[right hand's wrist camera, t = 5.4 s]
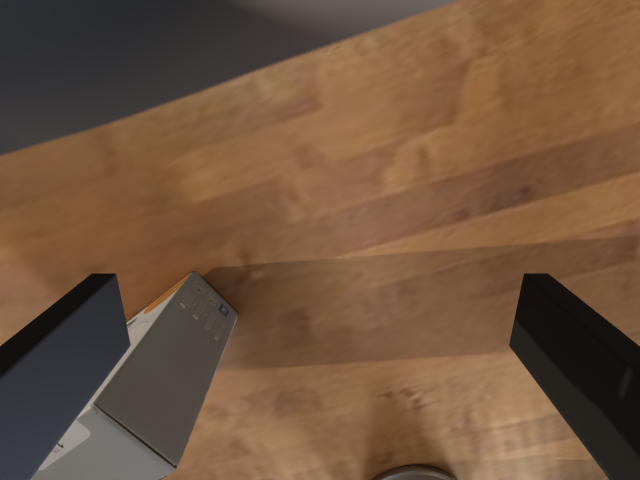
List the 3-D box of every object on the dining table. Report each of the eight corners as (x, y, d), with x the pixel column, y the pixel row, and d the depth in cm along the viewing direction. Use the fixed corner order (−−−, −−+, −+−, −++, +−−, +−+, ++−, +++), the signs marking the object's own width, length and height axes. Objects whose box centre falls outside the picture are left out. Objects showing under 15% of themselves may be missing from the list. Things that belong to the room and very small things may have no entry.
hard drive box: (194, 267, 43) (96, 402, 24) (240, 314, 45) (184, 471, 26) (101, 340, 46) (-47, 507, 27) (149, 380, 48) (41, 561, 30)
